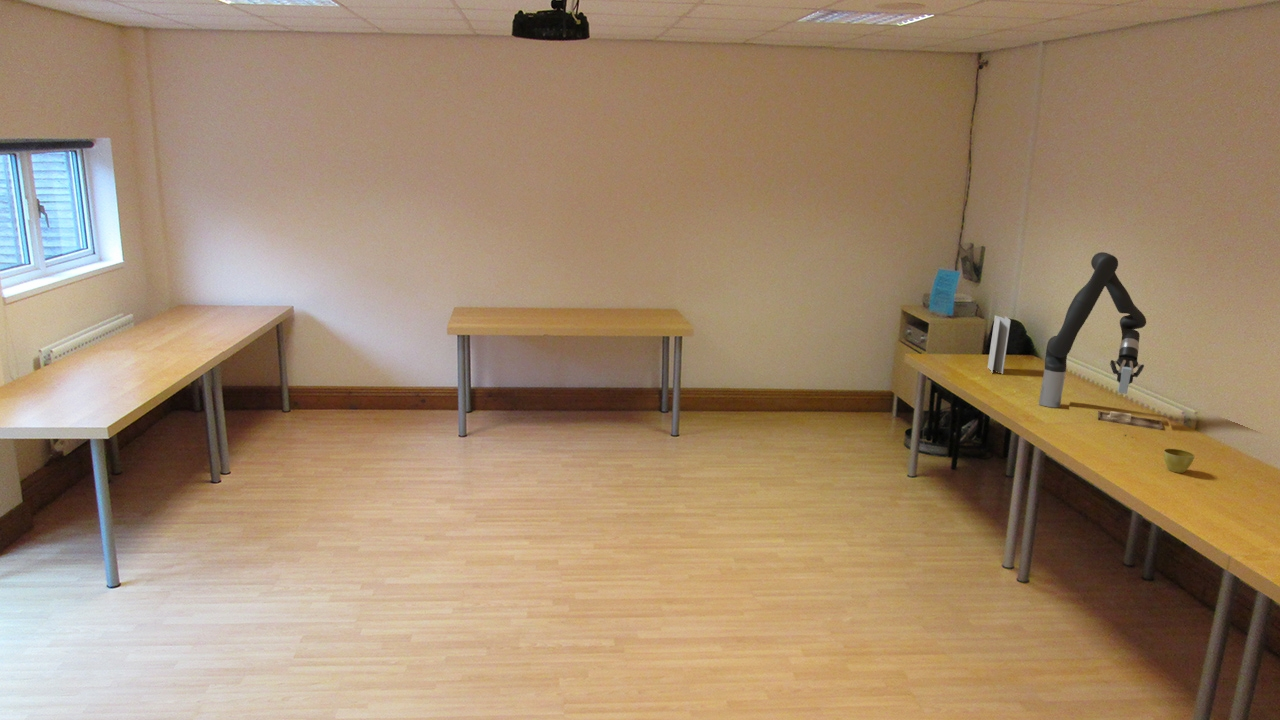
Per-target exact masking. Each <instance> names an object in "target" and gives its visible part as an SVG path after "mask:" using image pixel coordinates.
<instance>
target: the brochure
mask: <svg viewBox="0 0 1280 720" xmlns="http://www.w3.org/2000/svg"><path fill="white" fill-rule="evenodd" d="M1011 322H1012V320H1011V319H1010V318H1009V317H1007V316H1006V315H1005V316H1004V317H1001V316H998V315H995V314H994V320H993V327H992V335H991V341H990V347H989V354H988V363H987V369H988V368H989V369H990V370H991V372H992V373H993V374H994V372H995V371H997V372H999V373H1002V374H1003V375H1004V369H1005V363H1006V362H1005V361H1006V357H1007V348H1008V342H1009V334H1010V327H1011ZM993 370H995V371H993ZM991 372H990V373H991ZM997 372H996V373H997ZM992 373H991V374H992ZM999 373H998V374H999Z"/></svg>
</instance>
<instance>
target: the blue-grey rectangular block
mask: <svg viewBox="0 0 1280 720" xmlns="http://www.w3.org/2000/svg"><path fill="white" fill-rule="evenodd" d="M1121 373H1122V374H1121V380H1120V383H1119V382H1118V388H1117V392H1118V393H1119V394H1126V395H1127V394H1128V389H1129V385H1130V384H1129V380H1130V375H1131V368H1130V367H1122V372H1121Z"/></svg>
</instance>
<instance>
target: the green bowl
mask: <svg viewBox="0 0 1280 720" xmlns="http://www.w3.org/2000/svg"><path fill="white" fill-rule="evenodd" d="M1195 457H1196V455H1195V454H1194V453H1192V452H1190V451H1187V450H1183V449H1177V448H1165V449H1163V458H1164V459H1163V460H1164V463H1165V465H1166V468H1167V470H1168V471H1170V472H1173V473H1177V474H1183V473H1185V472H1186V471H1187V470H1188V469H1189V468H1190V466H1191V465H1192V463H1193V462H1194V459H1195Z"/></svg>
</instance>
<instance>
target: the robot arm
mask: <svg viewBox="0 0 1280 720" xmlns="http://www.w3.org/2000/svg"><path fill="white" fill-rule="evenodd" d="M1090 264H1091V267H1092V269H1093V273H1092V275H1091V277H1090V278H1089V280H1088V282H1087V283H1086V284H1085V285H1084V286H1083V287H1082V288H1081V289H1080V290H1079V291H1078V292H1077V293H1076V294H1075V296H1074V297H1073V299H1072V301H1071V302H1070V304H1069V307H1068V308H1067V311H1066V314H1065V318H1064V321H1063V324H1062V326H1061V328H1060V330H1059V331H1058V333H1057V335H1054V336H1052V337H1050V338H1049V339H1048V341H1047V344H1046V350H1045V355H1044V370H1043V374H1042V375H1043V377H1042V380H1041V382H1042V383H1041V388H1040V394H1039V399H1038V406H1042V407H1043V406H1044V407H1048V408H1060V407H1061V402H1062V397H1063V391H1064V384H1065V379H1066V372H1067V365H1068V364H1067V361H1068V360H1067V359H1068V354H1069V353H1070V352H1071V350H1072V348H1073V345H1074V342H1075V341H1076V338H1077V336H1078V334H1079V332H1080V330H1081V329H1082V327H1083V326H1084V324H1085V322H1086V321H1087V320H1088V318H1089V317H1090V314H1091V312H1092V311H1093V310H1094V307H1095V305H1096V303H1097V301H1098V300H1099V298H1100V296H1101V294H1102V292H1103V290H1104V288H1106V290H1107V292H1108V293H1109V296H1110V298H1111V300H1112V302H1113V304H1114V306H1115V308H1116V310H1117V312H1118V313H1119V314H1126V315H1124V316H1122V317H1121V318H1120V319H1119V326H1120V329H1121V331H1120V332H1121V342H1120V344H1119V349H1118V357H1117V359H1116V360H1113V359H1111V360H1110V363H1109V366H1110V368H1111V370H1112V373H1113V374H1114V375H1117V376H1116V377H1117V378H1116V381H1117V382H1118V384H1119V383H1120V380H1121V374H1122V373H1121V372H1122V367H1130V368H1131V375H1130V380H1129V385H1131V384H1132V383H1133V380H1134V378H1138V377H1139V376H1140V374H1141V373H1142V372H1143V370H1144V367H1145V365H1144V364H1140V363H1139V362H1138V359H1139V358H1138V357H1139V351H1140V350H1139V349H1140V346H1139V345H1140V336H1141V335H1140V332H1139V331H1138V329H1143V328H1144V327H1145V326H1146V325H1147V317H1146V316H1145V315H1144V314H1143V312H1142V311H1141V310H1140V309H1139V308H1138V307H1137V306H1136V305H1135V304H1134V302H1133V300H1132V297H1131V296H1130V293H1129V292H1128V290H1127V289H1126V287H1125V286H1124V285H1123V283H1122V282H1121V281H1120V279H1119V278H1118V275H1117V273H1116V271H1117V269H1118V267H1119V260H1118V258H1117V257H1116V256H1115V255H1113V254H1110V253H1108V252H1105V251H1104V252H1103V251H1102V252H1098V253H1096V254H1094V255H1093V256H1092V259H1091V261H1090ZM1127 314H1128V315H1127ZM1117 366H1118V367H1119V369H1118V368H1117ZM1136 368H1137V370H1136V372H1135V371H1134V369H1136Z"/></svg>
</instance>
